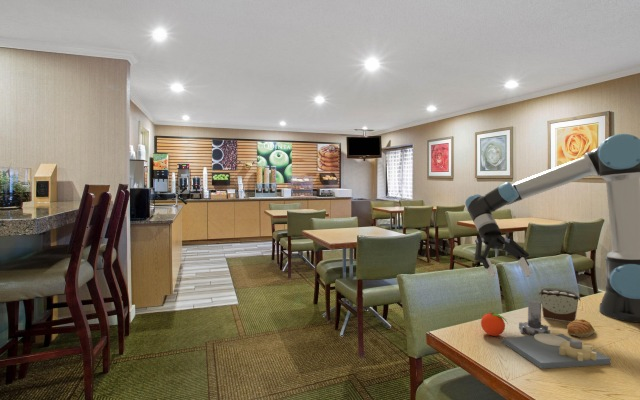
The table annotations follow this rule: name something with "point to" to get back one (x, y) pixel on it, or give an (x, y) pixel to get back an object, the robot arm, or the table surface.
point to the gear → (533, 320)
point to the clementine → (493, 324)
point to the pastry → (580, 328)
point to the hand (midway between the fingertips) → (511, 275)
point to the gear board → (555, 351)
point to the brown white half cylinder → (559, 304)
